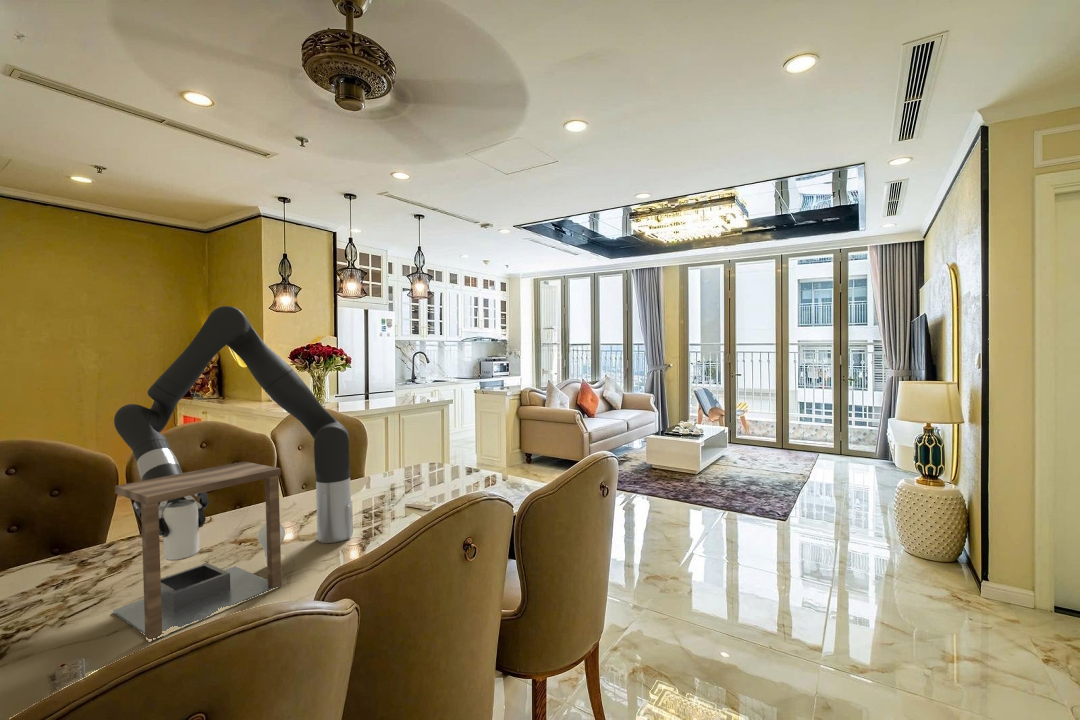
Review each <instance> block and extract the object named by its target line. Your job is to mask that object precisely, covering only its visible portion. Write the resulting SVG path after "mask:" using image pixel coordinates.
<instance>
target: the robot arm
mask: <svg viewBox="0 0 1080 720" xmlns="http://www.w3.org/2000/svg"><path fill="white" fill-rule="evenodd" d="M226 346H227V347H229V348H230V350H232V351H233V353H235V354H236V355H237V356H238V357H239V358H240V359H241V360H242V361H243V363H244V364H245V365H246V367H247V369H248V370H249V372H250V373H251V375H252V376H253V378H254V379H255V380H256V382H257V383H258V385H260V387H261V389H263V391H264V392H265V393H266V394H267V395H268V397H270V398H271V399H272V400H273V402H274V403H276V404H277V405H278V406H279V407H281V408H282V409H283V410H284V411H286V412H287V413H288V414H290V415H291V416H292V417H293V418H295V419H296V420H297V421H298V422H299V423H301V424H302V425H303V426H304V428H305V429H306V430H307V432H309V434H310V435H311V437H312V438H313V457H314V460H313V461H314V472H315V474H314V475H315V489H316V491H315V493H316V496H315V497H316V529H317V530H316V531H317V532H316V533H317V534H316V535H317V541H318V542H319V543H320V544H321V543H322V544H333V543H339V542H342V541H345V540H350V539H351V537H352V535H353V533H354V518H353V517H354V516H353V512H354V511H353V501H352V496H351V495H352V494H351V464H350V463H351V462H350V459H351V458H350V433H349V431H348V429H347V428H346V427H345V426H344V425H343V424H341V422H340V421H338V419H336V418H335V417H334V416H333V415H332V414H331V413H330V412H328V410H326V409H325V407H324V406H323V405H322V404H321V403H320V402H319V400H318V399H317V397H316V396H315V394H314V393H313V392H312V390H311V388H309V387H308V386H307V384H306V383H305V382H304V380H303V379H302V378H301V377H300V376H299V375H298V373H297V372H296V371H295V370H294V369H293V368H292V367H291V366H290V364H288V363H287V362H286V360H284V359H283V358H282V357H281V356H280V355H278V354H277V353H276V352H275V351H273V349H271V347H269V346H268V345H267V344H266V343H265V341H264V340H263V339H262V338H261V337H260V336H259V334H258V332H257V331H256V330H255V329H254V327H253V325H252V324H251V322H250V321H249V318H248V317H247V316H246V315H245V313H244V312H243V311H241V310H240V308H239V309H238V308H237V307H234V306H230V305H223V306H218V307H217V308H215V309H214V310H212V311H211V312H210V314H209V316H208V317H207V319H206V320H205V322H204V323H203V324H202V326H201V328H200V329H199V331H198V332H197V334H196V335H195V337H194V338H193V340H192V341H190V343H189V344H188V346H187V347H186V348H185V349H184V350H183V352H182V353H181V354H180V355H179V356H178V357H177V358H176V359H175V360H174V361H173V362H172V363H171V364H170V365H169V367H168V368H167V369H166V370H165V371H164V372H163V373H162V374H161V375H160V376H159V377H158V378H157V379H156V380H155V382H154V383H153V384H152V385H151V386H150V387H149V389H147V391H146V392H147V395H148V397H149V398H150V399H152V400H153V403H152V404H151V406H150V408H149V407H146V406H143V405H141V404H136V403H130V404H129V403H128V404H125V405H123V406H120V408H119V409H117V411H116V412H115V415H114V417H113V423H114V428H115V430H116V432H117V433H118V435H119V436H120V437H121V439H122V440H123V441H124V443H125V444H126V445H127V446H128V447H129V448H130V450H131V451H132V454H133V457H134V459H135V462H136V464H137V469H138V474H139V477H140V479H141V481H144V480H149V479H155V478H160V477H165V476H170V475H176V474H181V473H184V472H183V470H182V468H181V465H180V463H179V460H178V459H177V457H176V455H175V454H174V452H173V450H172V448H171V445H170V443H169V441H168V439H167V437H166V436H165V435H164V434H162V433H161V432H162V431H163V430H164V429H165V428H166V426H167V425H168V422H170V421H169V420H170V419H171V417H172V415H173V413H174V411H175V409H176V407H177V404H178V403H179V402H180V401H181V400H182V398H183V397H185V395H186V394H187V393H188V392H189V391H190V390H191V388H193V386H194V385H195V384H196V383H197V381H198V379H199V378H200V377H201V375H202V373H204V371H205V369H206V368H207V366H208V365H209V364H210V362H211V361H212V360H213V358H214V357H215V356H216V355H218V353H219V352H220V351H221V350H222V349H223V348H224V347H226ZM193 496H194V497H197V500H198V501H197V500H196V499H195V498H194V497H193ZM180 500H195V503H196V505H197V507H198V524H199V528H202V527H203V526H204V524H205V522H206V519H207V518H206V516H205V514H204V511H205V510H206V509H207V507H208V505H209V504H210V500H209V497H208V491H207V492H203V493H199V494H194V495H190V496H185V497H181V498H177V499H172V500H168V501H163V502H159V503H158V509H159V537H161V536H162V538H164V537H167V536H168V534H169V528H168V526H167V523H166V522H165V520H164V518H163V512H164V510H165V505H166V504H168V503H171V502H173V503H172V504H174V503H179V501H180ZM132 507H133V509H134V512H135V513H136V514H137V516H138V518H139V520H140V522H141V523H142V519H141V503H140V502H138V501H135V500H134V502H133V504H132Z"/></svg>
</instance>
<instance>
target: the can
mask: <svg viewBox="0 0 1080 720" xmlns="http://www.w3.org/2000/svg"><path fill="white" fill-rule="evenodd" d="M195 501H196V499H195V500H180V501H179V503H174V504H172V503H173V502H171V503H168V504H166V505H165V510H164V512H163V517H162V518H164V520H165V522H166V523H167V526H168V528H169V534H168V536H167V537H163V557H164V560H166V561H170V562H171V561H174V562H175V561H181V560H185V559H188V558H191V557H194V556H195V555H197V554H198V553H199V551H200V529H199V524H198V507H197V505H196V503H195Z"/></svg>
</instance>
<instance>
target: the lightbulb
mask: <svg viewBox="0 0 1080 720" xmlns="http://www.w3.org/2000/svg"><path fill="white" fill-rule="evenodd" d="M285 535H286V529H285V527H284V526H283V524H281V523H280V546H281V544H282V542H283V541H284V538H285V537H286V536H285ZM257 540H258V543H259V544H260V546H261V547H262V548H263V551H264V557H265V559H266V563H267V531H266V523H265V524H264V525H263V526H262V527H261V528H260V529H259V531H258V532H257Z"/></svg>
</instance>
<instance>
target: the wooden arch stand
mask: <svg viewBox="0 0 1080 720" xmlns="http://www.w3.org/2000/svg"><path fill="white" fill-rule="evenodd" d="M281 471H282V469H281V468H280V467H277V466H276V467H275V466H270V465H266V464H259V463H255V462H250V461H239V462H234V463H229V464H224V465H219V466H214V467H207V468H203V469H198V470H192V471H191V470H190V471H186V472H183V473H181V474H176V475H170V476H165V477H160V478H155V479H149V480H144V481H142V480H139V481H134V482H129V483H124V484H119V485H118V484H117V485H115V486H114V494H116V495H118V496H121V497H124V498H127V499H130V500H132V501H134V502H135V501H138V502H140V503H141V519H142V522H141V541H142V542H141V546H142V547H141V548H142V550H141V551H142V576H143V599H144V614H145V635H144V638H145V637H147V638H148V639H152V641H153V642H154V641H156V640H153V638H155V637H157V636H160V635H161V634H162V605H161V578H162V577H161V576H162V575H161V553H160V552H161V549H160V548H161V545H160V535H159V509H158V503H159V502H163V501H168V500H172V499H177V498H181V497H185V496H195V495H194V494H199V493H203V492H207V493H208V492H211V491H216V490H220V489H224V488H229V487H234V486H238V485H243V484H246V483H250V482H255V481H260V480H264V485H265V486H264V489H265V490H264V491H265V521H266V522H265V524H266V531H267V562H266V565H267V580H268V586H270V587H275V588H276V586H278V585H279V586H281V585H282V583H283V582H282V557H281V555H282V553H281V545H280V524H281V520H280V517H281V515H280V513H281V512H280V483H279V476H281V475H282V472H281ZM279 586H278V587H279ZM279 588H280V587H279ZM161 638H163V637H160V639H161ZM157 640H159V638H157ZM152 641H151V642H148V643H153V642H152Z"/></svg>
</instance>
